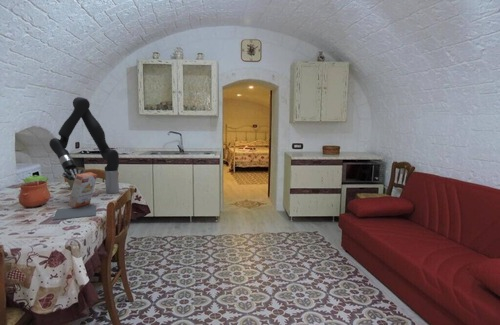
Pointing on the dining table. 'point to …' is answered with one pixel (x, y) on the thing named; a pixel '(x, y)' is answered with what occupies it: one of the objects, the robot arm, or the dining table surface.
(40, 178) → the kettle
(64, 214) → the rubber mat
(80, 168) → the plant pot
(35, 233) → the dining table surface
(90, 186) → the cracker box
